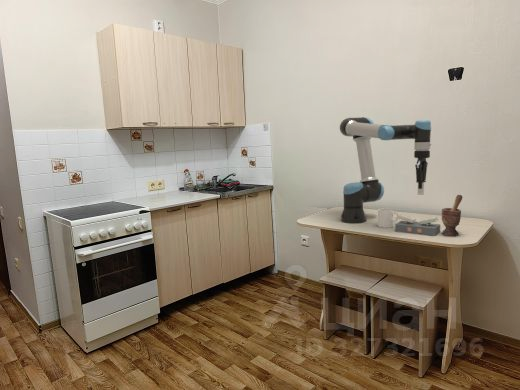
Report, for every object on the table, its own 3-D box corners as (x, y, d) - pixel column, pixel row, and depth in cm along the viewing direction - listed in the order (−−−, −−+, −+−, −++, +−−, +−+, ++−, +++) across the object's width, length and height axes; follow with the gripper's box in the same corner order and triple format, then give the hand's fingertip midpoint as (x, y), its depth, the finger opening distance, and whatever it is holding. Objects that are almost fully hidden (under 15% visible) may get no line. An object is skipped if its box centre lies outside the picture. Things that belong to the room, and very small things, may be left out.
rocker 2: (420, 224, 192) (419, 221, 192) (422, 223, 195) (421, 219, 195) (436, 221, 187) (435, 218, 187) (437, 220, 190) (436, 216, 190)
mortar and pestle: (445, 230, 195) (446, 193, 192) (463, 232, 189) (464, 194, 186) (439, 235, 186) (440, 196, 183) (457, 237, 181) (458, 197, 178)
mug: (396, 229, 202) (396, 211, 201) (375, 226, 210) (375, 210, 209) (401, 226, 208) (401, 209, 207) (381, 224, 216) (381, 207, 215)
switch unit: (395, 231, 198) (395, 221, 197) (401, 227, 205) (401, 218, 205) (434, 236, 185) (435, 226, 184) (440, 231, 193) (440, 221, 192)
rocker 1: (398, 218, 199) (398, 215, 199) (400, 217, 202) (401, 214, 201) (413, 223, 194) (413, 220, 194) (415, 221, 197) (415, 218, 197)
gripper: (425, 151, 184) (424, 196, 188) (433, 149, 194) (431, 193, 198) (410, 151, 189) (409, 195, 193) (418, 149, 199) (417, 192, 203)
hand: (420, 194), depth 195 cm, fingers closed
